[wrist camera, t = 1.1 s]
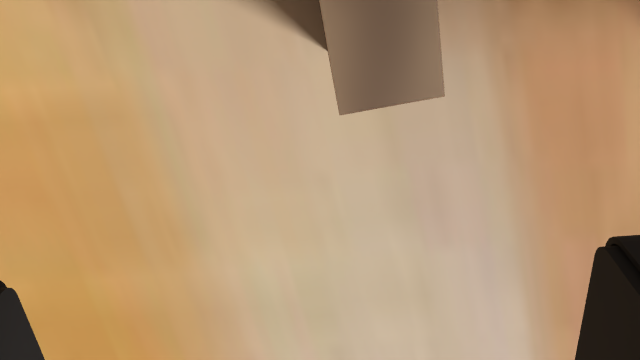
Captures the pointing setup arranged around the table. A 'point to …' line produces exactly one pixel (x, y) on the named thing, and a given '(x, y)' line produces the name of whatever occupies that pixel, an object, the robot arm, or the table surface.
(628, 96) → the table surface
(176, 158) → the table surface
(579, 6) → the table surface
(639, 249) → the robot arm
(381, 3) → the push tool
